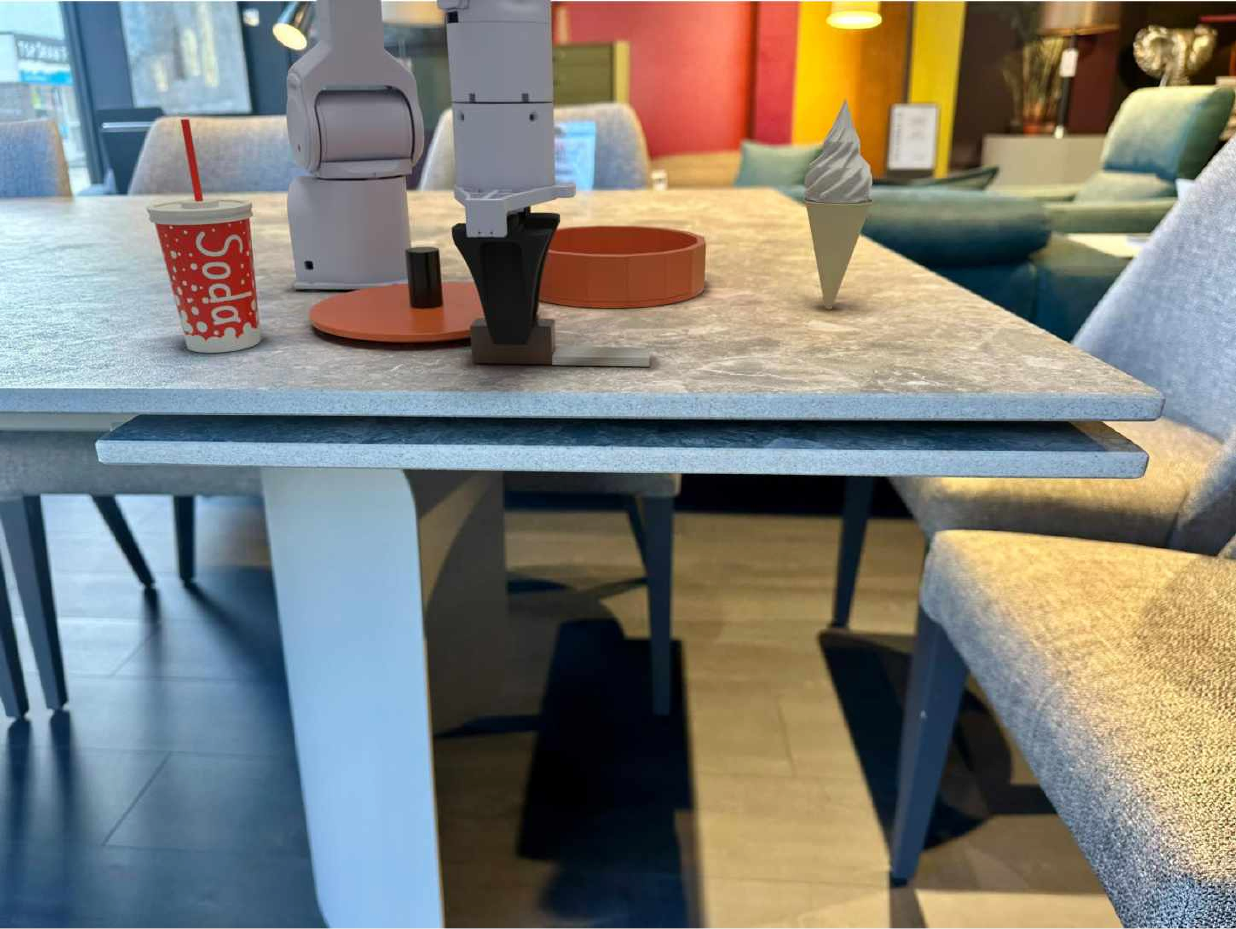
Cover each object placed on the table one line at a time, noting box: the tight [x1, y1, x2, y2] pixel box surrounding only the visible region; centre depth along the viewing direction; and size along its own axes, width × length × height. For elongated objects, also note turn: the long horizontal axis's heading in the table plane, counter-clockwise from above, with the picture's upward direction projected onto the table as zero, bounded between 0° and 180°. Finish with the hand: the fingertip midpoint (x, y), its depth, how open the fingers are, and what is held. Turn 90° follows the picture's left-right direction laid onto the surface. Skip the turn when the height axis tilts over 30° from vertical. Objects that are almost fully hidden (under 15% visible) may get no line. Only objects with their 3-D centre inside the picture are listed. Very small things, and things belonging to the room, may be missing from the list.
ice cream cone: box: [803, 98, 874, 310], centre depth 67 cm, size 5×5×15 cm
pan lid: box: [308, 246, 541, 344], centre depth 65 cm, size 16×16×5 cm
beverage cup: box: [146, 118, 262, 354], centre depth 58 cm, size 6×6×14 cm
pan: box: [539, 224, 707, 309], centre depth 76 cm, size 15×15×4 cm
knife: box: [470, 318, 651, 367], centre depth 56 cm, size 11×2×2 cm, turn 87°
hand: (513, 337), depth 56 cm, fingers closed on knife, 2 cm apart
